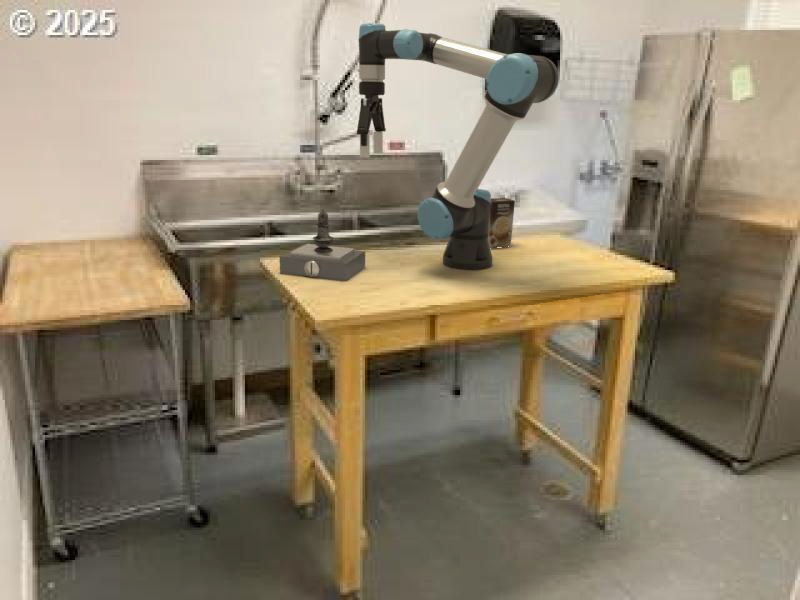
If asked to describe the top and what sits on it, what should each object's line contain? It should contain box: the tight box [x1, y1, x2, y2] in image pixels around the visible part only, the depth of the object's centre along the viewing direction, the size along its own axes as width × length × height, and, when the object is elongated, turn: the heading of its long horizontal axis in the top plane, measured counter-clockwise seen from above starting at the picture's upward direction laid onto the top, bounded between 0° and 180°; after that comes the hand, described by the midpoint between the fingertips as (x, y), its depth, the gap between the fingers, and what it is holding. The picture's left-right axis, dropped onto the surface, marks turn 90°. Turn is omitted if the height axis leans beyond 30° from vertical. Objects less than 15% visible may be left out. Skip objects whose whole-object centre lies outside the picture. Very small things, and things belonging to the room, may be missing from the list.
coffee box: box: [488, 197, 516, 248], centre depth 225 cm, size 9×6×16 cm
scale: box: [279, 243, 366, 282], centre depth 192 cm, size 20×16×6 cm
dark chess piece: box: [312, 208, 334, 253], centre depth 189 cm, size 6×6×12 cm
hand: (371, 155), depth 201 cm, fingers open, 13 cm apart
